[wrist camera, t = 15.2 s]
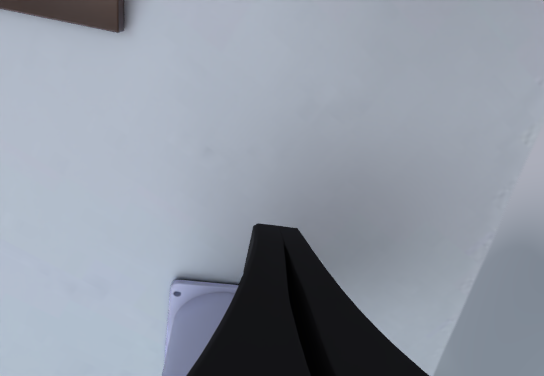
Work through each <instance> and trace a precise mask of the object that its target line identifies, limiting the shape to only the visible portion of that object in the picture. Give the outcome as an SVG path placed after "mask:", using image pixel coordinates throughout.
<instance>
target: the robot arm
mask: <svg viewBox="0 0 544 376" xmlns="http://www.w3.org/2000/svg"><path fill="white" fill-rule="evenodd" d="M176 291H179V292H176ZM162 376H429V375H428V374H427V373H425V372H424V371H423V370H422V369H421V368H419V367H418V366H417V365H416V364H415V363H414V362H413V361H412V360H410V359H409V358H408V357H407V356H406V355H405V354H404V353H403V352H401V351H400V350H399V349H398V348H397V347H396V346H395V345H394V344H393V343H392V342H391V341H390V340H388V339H387V338H386V337H385V336H384V335H383V334H382V333H381V332H380V331H379V330H378V329H377V328H376V327H375V326H374V325H373V323H372V322H371V321H370V320H369V319H368V318H367V317H366V316H365V315H364V314H363V313H362V312H361V311H360V310H359V309H358V308H357V306H356V305H355V304H354V303H353V302H352V301H351V299H350V298H349V297H348V296H347V295H346V294H345V292H344V291H343V290H342V289H341V288H340V286H339V285H338V284H337V283H336V281H335V280H334V279H333V277H332V276H331V275H330V274H329V272H328V271H327V270H326V268H325V267H324V266H323V264H322V263H321V261H320V260H319V259H318V257H317V256H316V254H315V253H314V251H313V250H312V249H311V247H310V246H309V244H308V243H307V241H306V240H305V238H304V237H303V236H302V234H301V233H300V231H299V230H298V228H291V227H283V226H275V225H267V224H256V225H255V226H253V231H252V235H251V240H250V244H249V249H248V254H247V258H246V263H245V267H244V273H243V276H242V279H241V281H240V283H239V285H231V284H221V283H210V282H199V281H188V280H174V281H173V282H172V283H171V287H170V298H169V310H168V323H167V336H166V348H165V361H164V367H163V372H162Z"/></svg>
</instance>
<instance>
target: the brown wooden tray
mask: <svg viewBox="0 0 544 376" xmlns="http://www.w3.org/2000/svg"><path fill="white" fill-rule="evenodd" d="M0 9H4V10H9V11H14V12H19V13H24V14H29V15H34V16H39V17H43V18H48V19H53V20H58V21H63V22H68V23H73V24H78V25H83V26H88V27H93V28H97V29H102V30H107V31H112V32H117V33H118V32H121V31H124V0H0Z"/></svg>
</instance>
